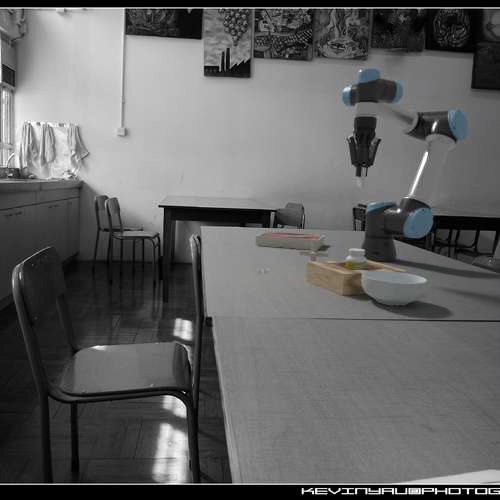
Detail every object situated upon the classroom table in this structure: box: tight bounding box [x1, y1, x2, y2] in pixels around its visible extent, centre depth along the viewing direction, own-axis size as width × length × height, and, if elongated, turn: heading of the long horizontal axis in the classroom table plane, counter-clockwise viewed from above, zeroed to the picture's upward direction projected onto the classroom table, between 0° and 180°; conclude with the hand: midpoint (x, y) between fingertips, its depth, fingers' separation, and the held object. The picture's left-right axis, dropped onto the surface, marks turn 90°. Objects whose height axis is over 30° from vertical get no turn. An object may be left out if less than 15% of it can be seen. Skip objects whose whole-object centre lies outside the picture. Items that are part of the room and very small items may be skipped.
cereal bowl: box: [361, 271, 428, 307], centre depth 136 cm, size 17×17×7 cm
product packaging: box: [255, 230, 325, 251], centre depth 242 cm, size 22×28×5 cm
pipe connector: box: [299, 240, 329, 262], centre depth 183 cm, size 10×10×10 cm
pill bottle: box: [345, 248, 367, 268], centre depth 155 cm, size 6×6×11 cm
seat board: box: [306, 259, 408, 296], centre depth 155 cm, size 22×20×6 cm
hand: (360, 186), depth 179 cm, fingers closed
